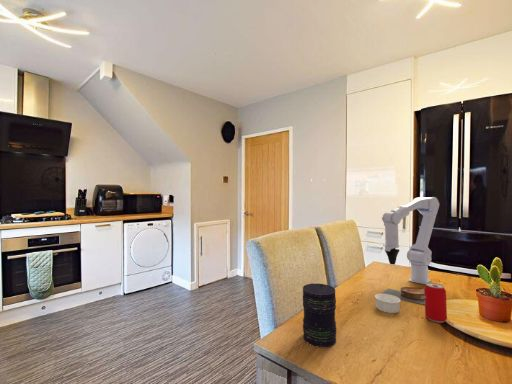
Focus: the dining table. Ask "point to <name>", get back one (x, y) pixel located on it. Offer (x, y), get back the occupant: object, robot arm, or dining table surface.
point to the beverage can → (435, 302)
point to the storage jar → (319, 315)
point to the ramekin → (387, 303)
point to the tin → (413, 293)
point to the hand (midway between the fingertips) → (392, 263)
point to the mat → (400, 296)
